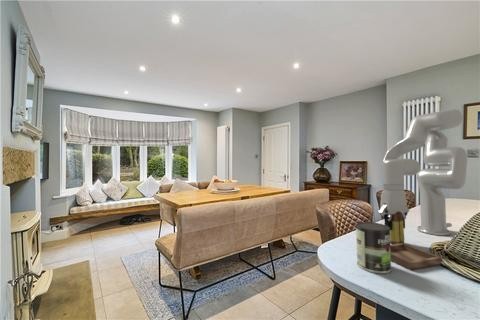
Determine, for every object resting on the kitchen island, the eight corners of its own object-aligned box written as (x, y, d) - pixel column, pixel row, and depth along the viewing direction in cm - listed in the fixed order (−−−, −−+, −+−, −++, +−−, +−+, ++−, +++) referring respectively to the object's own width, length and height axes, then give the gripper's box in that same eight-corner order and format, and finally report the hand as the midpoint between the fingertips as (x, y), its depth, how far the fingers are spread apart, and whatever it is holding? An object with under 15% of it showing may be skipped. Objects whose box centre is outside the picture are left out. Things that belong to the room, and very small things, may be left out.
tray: (403, 249, 89) (403, 243, 89) (442, 264, 76) (442, 257, 76) (375, 253, 86) (375, 247, 86) (410, 270, 72) (410, 263, 72)
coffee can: (397, 268, 74) (396, 227, 74) (380, 277, 69) (378, 232, 69) (368, 257, 83) (366, 220, 83) (350, 263, 78) (349, 224, 78)
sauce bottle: (398, 240, 98) (397, 196, 99) (408, 246, 92) (406, 199, 92) (383, 240, 99) (382, 196, 99) (391, 245, 93) (390, 199, 93)
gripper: (400, 185, 102) (402, 224, 101) (370, 187, 97) (371, 227, 97) (417, 187, 94) (418, 229, 94) (385, 189, 90) (386, 233, 90)
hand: (394, 228), depth 96 cm, fingers closed on sauce bottle, 6 cm apart
